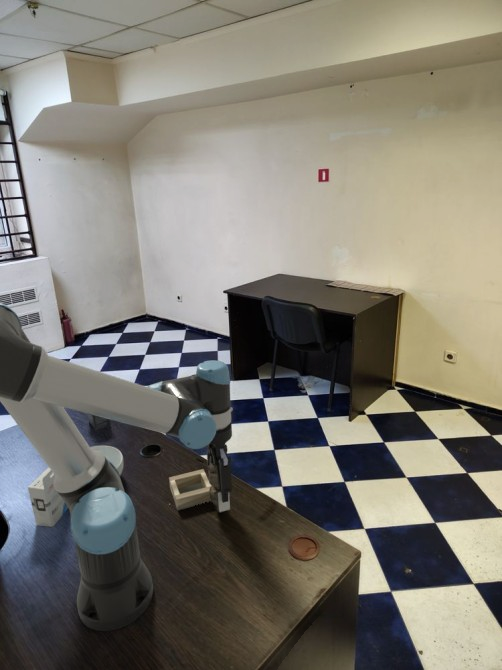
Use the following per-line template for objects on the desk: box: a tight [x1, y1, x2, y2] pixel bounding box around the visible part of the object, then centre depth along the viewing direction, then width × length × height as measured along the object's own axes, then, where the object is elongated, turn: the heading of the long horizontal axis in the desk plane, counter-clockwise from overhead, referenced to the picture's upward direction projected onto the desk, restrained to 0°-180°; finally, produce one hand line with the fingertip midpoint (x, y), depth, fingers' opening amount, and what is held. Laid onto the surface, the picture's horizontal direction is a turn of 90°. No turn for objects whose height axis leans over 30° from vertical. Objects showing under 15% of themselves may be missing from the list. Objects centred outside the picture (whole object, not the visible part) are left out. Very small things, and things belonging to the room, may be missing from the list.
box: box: [87, 413, 111, 431], centre depth 160 cm, size 8×6×11 cm
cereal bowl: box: [89, 445, 124, 476], centre depth 129 cm, size 17×17×7 cm
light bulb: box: [207, 463, 231, 513], centre depth 114 cm, size 6×6×15 cm
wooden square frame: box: [168, 468, 212, 511], centre depth 123 cm, size 10×10×4 cm
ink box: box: [27, 466, 69, 528], centre depth 115 cm, size 9×5×15 cm, turn 168°
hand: (220, 501), depth 116 cm, fingers open, 6 cm apart
